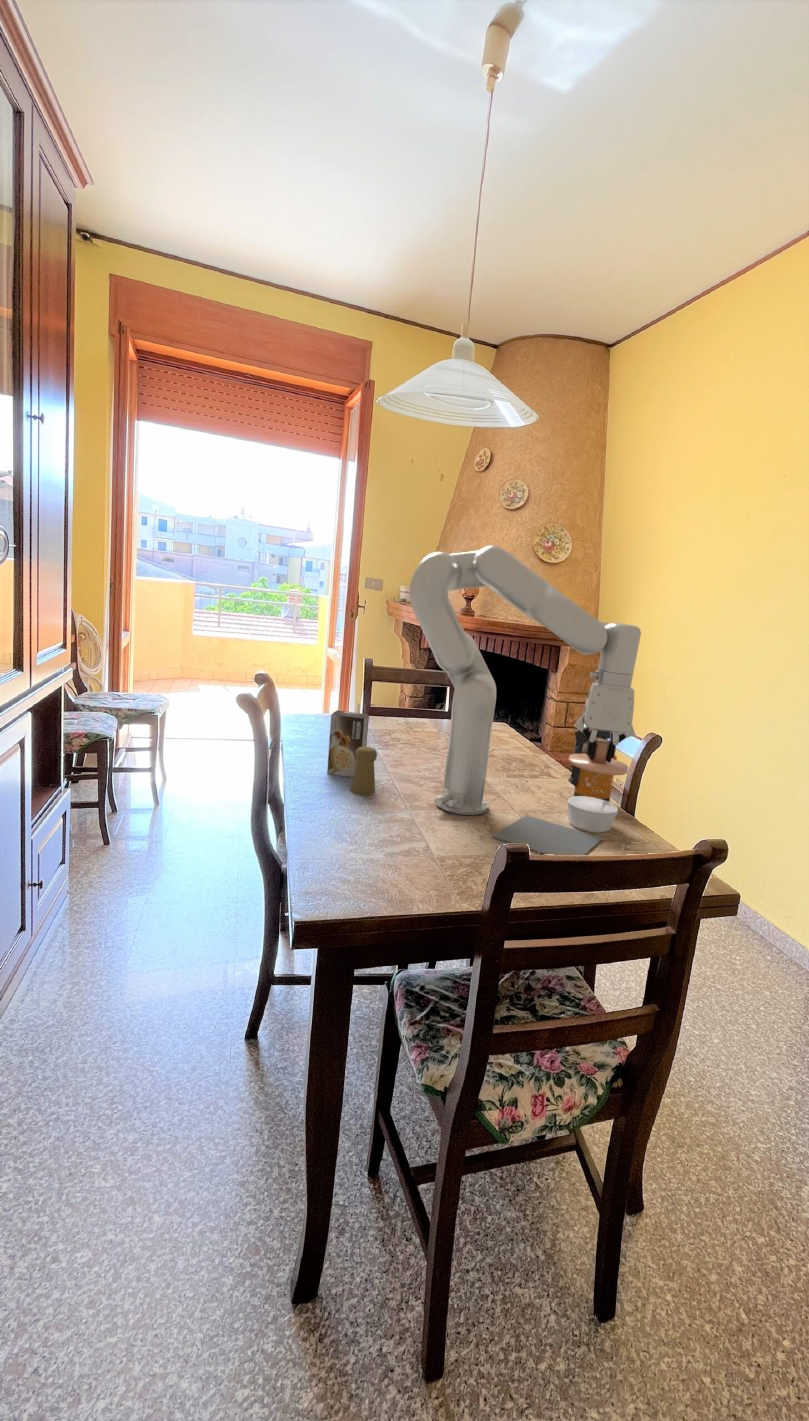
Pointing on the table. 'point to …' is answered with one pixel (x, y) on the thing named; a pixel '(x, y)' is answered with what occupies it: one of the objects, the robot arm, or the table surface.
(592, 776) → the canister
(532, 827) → the mat
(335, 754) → the coffee box
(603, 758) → the lid
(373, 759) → the cork
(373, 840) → the table surface
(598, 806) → the ramekin
